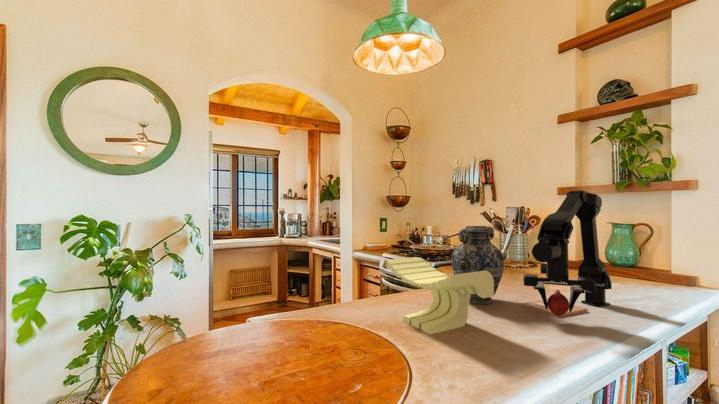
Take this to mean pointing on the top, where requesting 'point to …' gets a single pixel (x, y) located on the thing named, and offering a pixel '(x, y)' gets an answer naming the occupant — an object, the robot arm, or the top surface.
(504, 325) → the top surface
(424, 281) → the slatted curved stool
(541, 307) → the letter tile
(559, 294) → the onion
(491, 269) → the decorative vase
